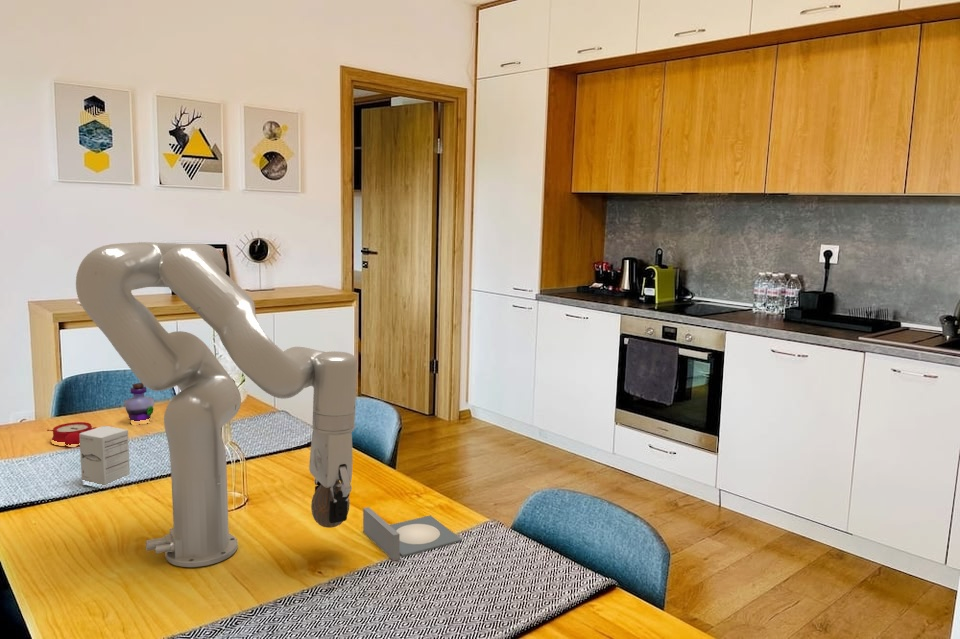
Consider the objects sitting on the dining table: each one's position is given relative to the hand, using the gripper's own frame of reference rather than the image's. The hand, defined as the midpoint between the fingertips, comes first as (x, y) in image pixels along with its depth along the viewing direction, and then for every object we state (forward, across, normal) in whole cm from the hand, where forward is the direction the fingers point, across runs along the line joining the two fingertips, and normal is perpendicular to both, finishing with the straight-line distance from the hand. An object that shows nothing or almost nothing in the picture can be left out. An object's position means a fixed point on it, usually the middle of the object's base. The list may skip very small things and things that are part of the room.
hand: (330, 512), depth 130 cm
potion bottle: (+12, -107, -19) cm, 109 cm away
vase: (+2, 0, 0) cm, 2 cm away
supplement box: (+11, -59, -32) cm, 68 cm away
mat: (+8, +1, +18) cm, 20 cm away
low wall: (+8, +1, +10) cm, 13 cm away
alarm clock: (+13, -96, -36) cm, 103 cm away
